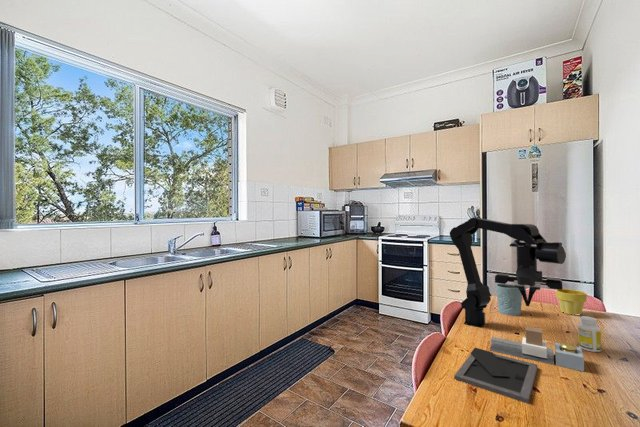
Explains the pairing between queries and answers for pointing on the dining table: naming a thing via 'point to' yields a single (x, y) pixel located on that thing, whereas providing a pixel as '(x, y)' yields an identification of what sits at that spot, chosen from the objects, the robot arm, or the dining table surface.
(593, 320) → the supplement bottle
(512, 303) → the teal embossed planter
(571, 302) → the plant pot
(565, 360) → the grey notched block
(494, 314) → the dining table surface
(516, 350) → the rail
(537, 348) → the carriage
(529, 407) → the dining table surface
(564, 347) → the button
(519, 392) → the picture frame
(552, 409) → the dining table surface
